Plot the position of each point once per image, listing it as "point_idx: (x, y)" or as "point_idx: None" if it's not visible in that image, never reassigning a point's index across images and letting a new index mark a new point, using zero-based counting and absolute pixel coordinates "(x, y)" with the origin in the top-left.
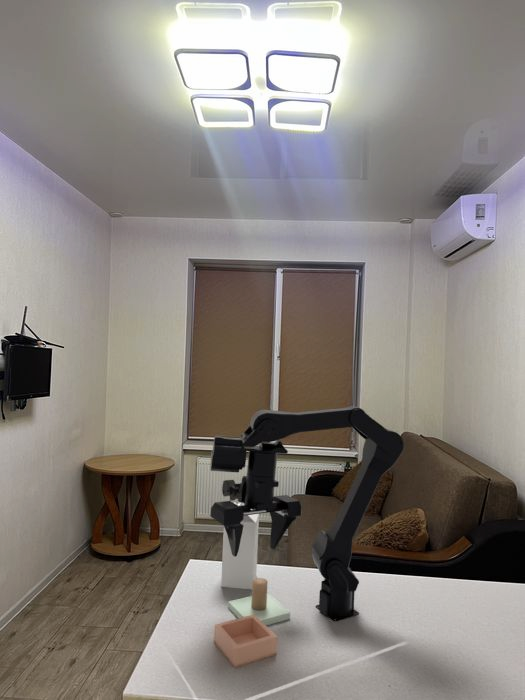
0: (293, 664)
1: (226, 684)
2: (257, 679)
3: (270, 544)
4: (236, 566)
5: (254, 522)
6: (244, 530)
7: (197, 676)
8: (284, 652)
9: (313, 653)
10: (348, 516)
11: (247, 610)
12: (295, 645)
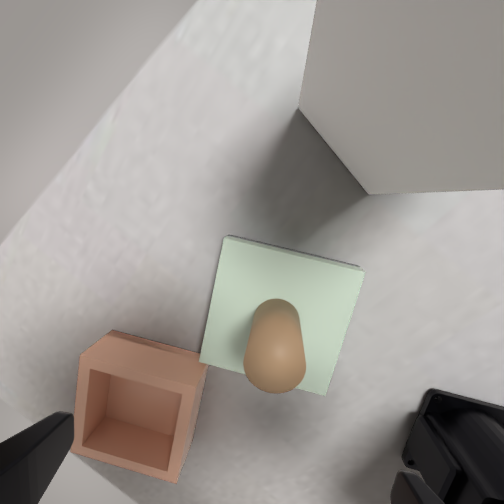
0: (205, 473)
1: None
2: None
3: (412, 496)
4: (349, 129)
5: None
6: None
7: (38, 381)
8: (218, 441)
9: (263, 480)
10: None
11: (236, 313)
12: (254, 443)
